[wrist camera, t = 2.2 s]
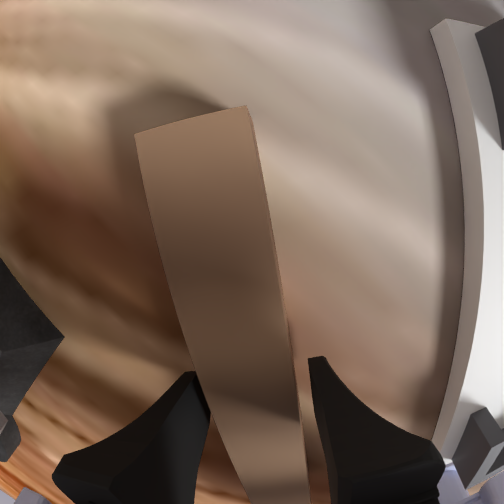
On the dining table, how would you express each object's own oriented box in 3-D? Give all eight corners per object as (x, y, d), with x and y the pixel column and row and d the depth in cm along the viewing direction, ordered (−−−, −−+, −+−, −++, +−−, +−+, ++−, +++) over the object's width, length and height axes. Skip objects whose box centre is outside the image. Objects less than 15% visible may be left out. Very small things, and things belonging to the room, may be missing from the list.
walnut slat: (308, 469, 16) (311, 511, 13) (259, 474, 16) (257, 515, 13) (253, 123, 11) (246, 105, 7) (171, 141, 11) (134, 133, 8)
